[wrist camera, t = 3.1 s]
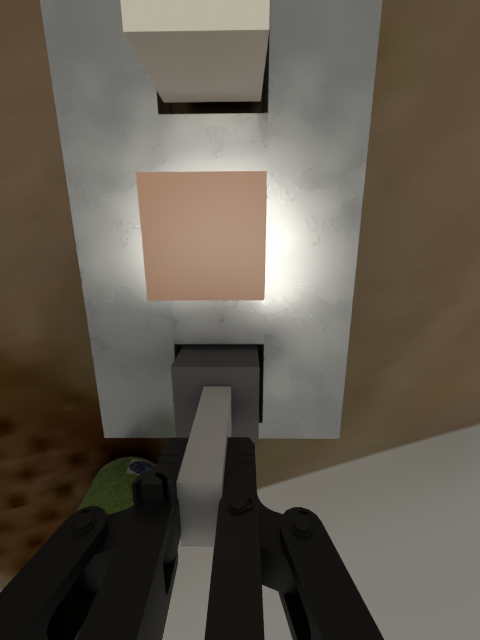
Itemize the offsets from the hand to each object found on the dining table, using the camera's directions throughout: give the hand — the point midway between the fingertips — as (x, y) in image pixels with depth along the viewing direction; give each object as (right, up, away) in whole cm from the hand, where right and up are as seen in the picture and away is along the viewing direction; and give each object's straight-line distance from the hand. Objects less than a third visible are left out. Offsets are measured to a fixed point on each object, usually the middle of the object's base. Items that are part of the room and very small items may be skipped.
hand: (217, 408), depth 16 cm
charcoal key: (0, +1, +5) cm, 5 cm away
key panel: (0, +10, +3) cm, 11 cm away
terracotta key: (0, +9, 0) cm, 9 cm away
